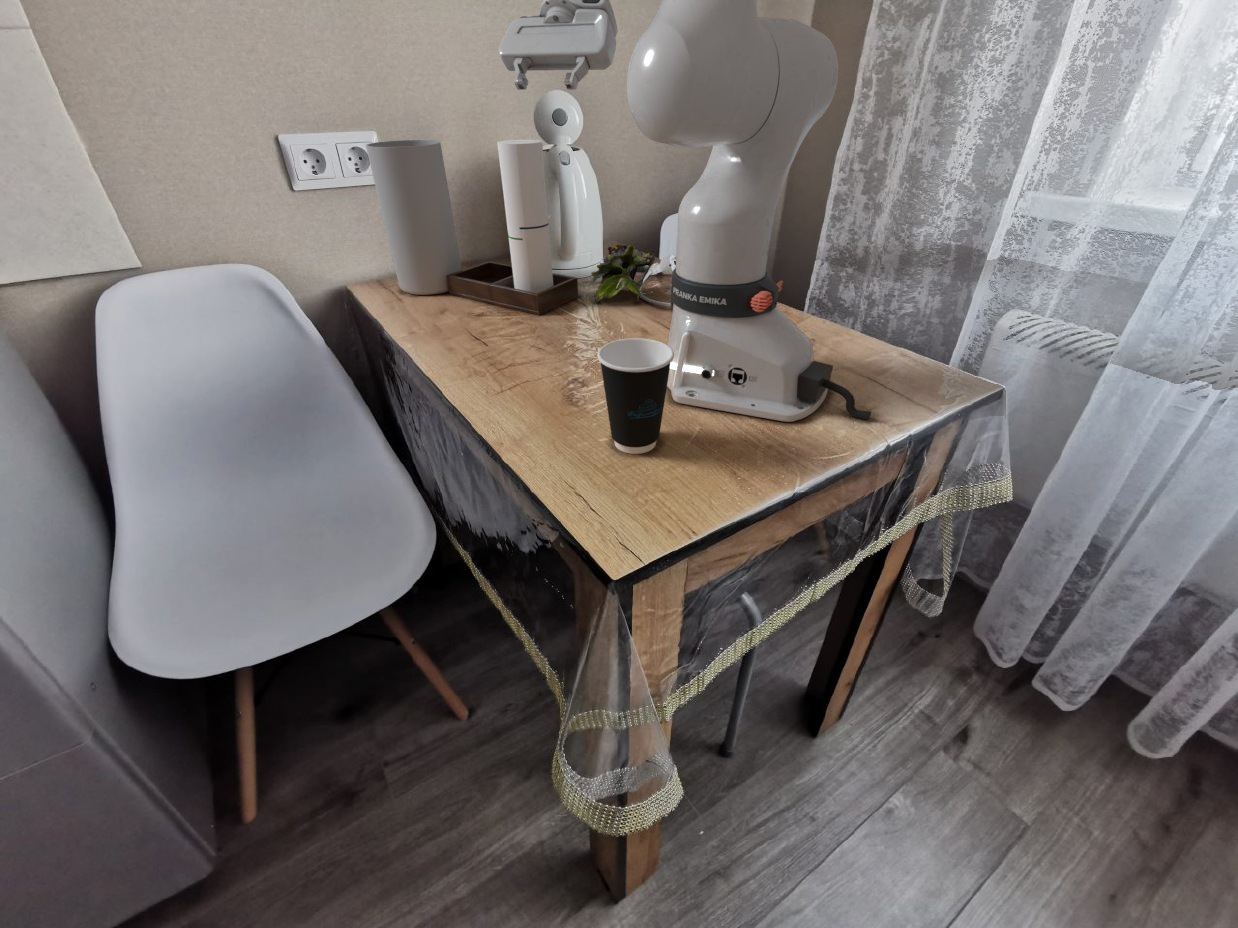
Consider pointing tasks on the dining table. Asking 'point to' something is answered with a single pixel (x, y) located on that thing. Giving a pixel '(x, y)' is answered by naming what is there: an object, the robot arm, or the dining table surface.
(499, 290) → the tray
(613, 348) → the dixie cup
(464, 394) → the dining table surface
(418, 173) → the cylinder vase
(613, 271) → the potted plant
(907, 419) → the dining table surface
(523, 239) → the cylindrical container
